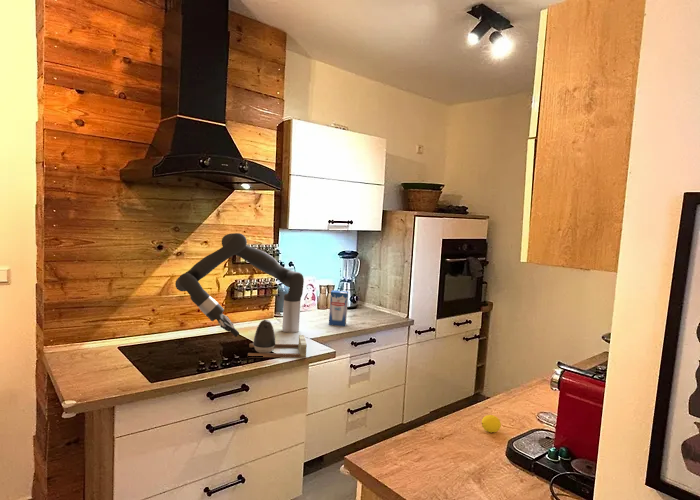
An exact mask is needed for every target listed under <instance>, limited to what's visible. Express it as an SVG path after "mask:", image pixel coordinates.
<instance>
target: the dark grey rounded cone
mask: <svg viewBox="0 0 700 500" xmlns="http://www.w3.org/2000/svg"><path fill="white" fill-rule="evenodd" d="M252 344H253V345H254V347H253V348H254V351H256V353H271V352H273V350H274V346H275V344H276V334H275V331H274V326H273V324H272V322H271V321H270V320H269V319H263V320H261V321H260V322H259V323H258V325H257V328H256V331H255V334H254V337H253V342H252Z"/></svg>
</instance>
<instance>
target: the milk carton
mask: <svg viewBox="0 0 700 500" xmlns="http://www.w3.org/2000/svg"><path fill="white" fill-rule="evenodd" d="M348 300H349V291H345V290H333V289H332V290H331V291H330V299H329V313H328V314H329V316H328V325H329V326H339V327H340V326H341V327H345V326H346V325H347V316H348Z"/></svg>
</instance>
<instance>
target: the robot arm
mask: <svg viewBox="0 0 700 500" xmlns="http://www.w3.org/2000/svg"><path fill="white" fill-rule="evenodd" d="M247 242H248V239H247V237H246V236H245V235H244V234H243V233H240V232H233V233H227V234H225V235H224V236H223V237H222V239H221V245H222V247H220V248H219V249H217V250H216V251H214V252H212V253H209V254H208V255H206V256H204V257H203V258H202V259H200V260H199V261H198V262H196V263H195V264H194V265H193V266H191V268H190V269H188V270H187V271H186V272H185V273H182V274H181V275H179V277H178V278H177V279H176V281H175V283H174V284H175V285H174V286H175V289H177V290H178V291H179V292H187V294H189V297H190V300H191V301H192V302H193V303H194V304H195V306H197V307H198V309H199V310H200V311H201V312H202V313H203V314H204V315H205V316H206V317H207V319H209V320H210V321H211V322H214V321H215V320H216V321H217V323H218V324H219V327H220V328H221V329H223V330H224V331H227V332H228V333H231V334H232V335H233V336H234V337H235V338H236V337H238V336H239V335H240V332H239V330H237V329H236V328H235V326H234V322H232V320H231V319H230V317H229V316H228V315H226V314H224V311H225V309H224V307H223V306H221V304H220V303H219V302H218V301H216V299H215V298H213V297H212V296H211V295H210V294H209V293H208V292H207V291H206V290H205V289H204V288H203V287H202V285H201V283H200V282H199V281H200V280H202V279H203V278H205V277H206V276H207V275H209V274H210V273H211V272H212V271H214V270H215V269H217V267H219V266H220V265H221V264H222V263H224V262H225V261H227V260H228V259H230V258H231V257H233V256H234V255H235V256H237V257H239V258H240V259H243V260H244V261H245V262H247V263H248V264H250V265H252V266H253V267H255V268H256V269H258V270H260V272H263V273H265V274H267V275H269V276H271V277H273V278H274V279H276V280H277V281H279V282H280V283H281V284H283V285H284V286H285V287H288V292H287V293H286V294H284V296H283V307H282V312H283V313H282V325H281V326H282V328H281V330H282V332H284V333H298V332H299V331H300V317H301V316H300V315H301V301H302V300H301V298H302V296H303V293H304V292H303V291H304V283H305V281H304V280H305V279H304V275H303V273H301V272H298V271H293V270H290V269H288V268H286V267H284V266H282V265H281V264H280V263H279V262H278V260H276V258H275V257H274V256H272V255H270V254H269V253H267V252H266V251H264V250H261V249H259V248H255V247H252V246H250V245H248V244H247Z"/></svg>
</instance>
